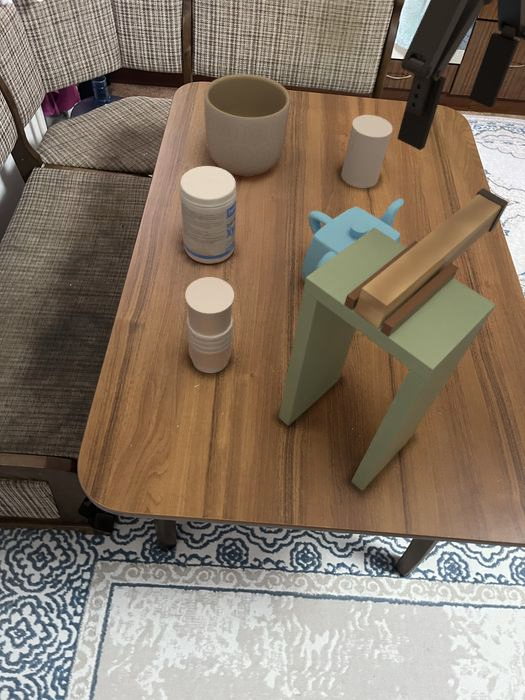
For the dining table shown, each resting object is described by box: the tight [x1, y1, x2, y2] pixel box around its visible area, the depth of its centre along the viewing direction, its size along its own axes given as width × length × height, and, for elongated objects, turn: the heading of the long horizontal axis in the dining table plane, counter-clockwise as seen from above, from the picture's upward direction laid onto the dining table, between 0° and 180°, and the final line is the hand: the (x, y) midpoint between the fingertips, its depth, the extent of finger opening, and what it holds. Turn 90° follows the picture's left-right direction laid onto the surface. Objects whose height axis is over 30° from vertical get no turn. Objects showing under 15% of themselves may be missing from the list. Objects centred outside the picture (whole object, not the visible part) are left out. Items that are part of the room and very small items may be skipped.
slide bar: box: [355, 187, 509, 328], centre depth 57 cm, size 3×23×4 cm, turn 136°
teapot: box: [301, 198, 405, 282], centre depth 93 cm, size 18×16×14 cm
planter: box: [203, 73, 291, 177], centre depth 111 cm, size 17×17×15 cm
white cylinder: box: [340, 114, 393, 189], centre depth 112 cm, size 8×8×12 cm
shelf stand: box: [278, 227, 496, 492], centre depth 67 cm, size 16×12×32 cm
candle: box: [184, 276, 235, 374], centre depth 79 cm, size 7×7×15 cm
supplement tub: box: [179, 165, 237, 265], centre depth 94 cm, size 10×10×15 cm
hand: (447, 121), depth 55 cm, fingers open, 13 cm apart
